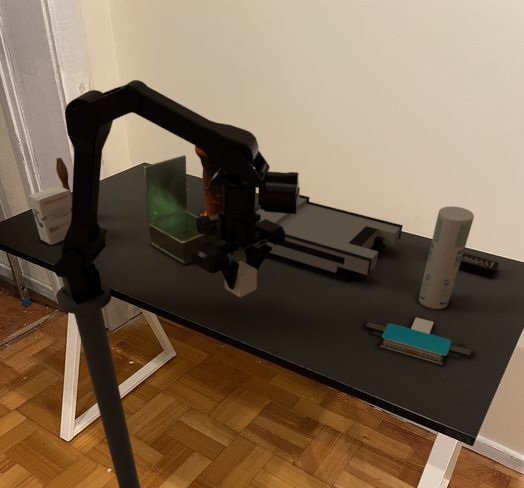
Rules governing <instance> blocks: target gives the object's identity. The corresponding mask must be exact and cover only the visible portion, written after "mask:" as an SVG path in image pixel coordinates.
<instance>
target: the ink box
mask: <svg viewBox="0 0 524 488" xmlns="http://www.w3.org/2000/svg"><path fill="white" fill-rule="evenodd" d="M70 191H71V189H70V190H68V189H65V188H63V186H61V185H57V186H54V187H50V188H47V189H44V190H41V191H37V192H35V193H31V194H29V195H28V199H29V203H30V207H31V209H32V210H31V211H32V213H33V217H34V221H35V224H36V228H37V231H38V234H39V239H40V240H41V241H43V242H45V243H46V244H48V245H50V246H53V245H56V244H58V243H60V242H63V241H64V237H65V235H66V233H67V231H68V228H69V226H70V223H71V214H72V198H71V194H72V192H71V193H70Z"/></svg>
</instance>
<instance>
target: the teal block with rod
mask: <svg viewBox="0 0 524 488" xmlns="http://www.w3.org/2000/svg"><path fill="white" fill-rule="evenodd" d="M434 323H435V321H432V320H427V319H424V318H420V317H415V318H414V321H413V323H412V326H411V328H409V327H405V326H402V325H398V324H395V323H390V322H389V323H387V326H385V325H381V324H376V323H374V322H369V321H368V322H367V324H366V325H365V326H366V327H365V329H366V330H371V331H372V333H371V334H372V335H375V336H379V337H381V338H382V339H383V340H382V342H381V344H380V348H381V349H385V350H388V351H391V352H394V353H398V354H401V355H406V356H409V357H411V358H415V359H418V360H423V361H426V362H430V363H432V364H436V365H438V366H439V365H440V366H442V365H443V363H444V359H445V356H449V357H452V358H456V359H460V358H461V356H462V357H466V358H470V357H471V354H472V350H471V349H467V348H465V347H462V346H457V345H453V344H452V340H451V339H449V338H445V337H442V336H438V335H435V334H431V331H432V330H433V329H432V328H433V327H434Z"/></svg>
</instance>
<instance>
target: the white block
mask: <svg viewBox="0 0 524 488" xmlns="http://www.w3.org/2000/svg"><path fill="white" fill-rule="evenodd" d="M237 263H239V268H238V274H237V279H236V284H235V287H234V289H233V290H232V289H230V288H229V287H228V285H227V282H226V280H225V278H224V277H223V278H224V279H223V280H224V289H225V290H227V291H229V292H230V293H232V294H233V295H235V296H237V297H238V298H242V297H244V296H246V295H249V294H250V293H252V292H254V291H256V290H257V289H258V271H257V269H256V268H254V267H252V266H250V265H248V264H246V262H244V261H243V260H240V261H238V262H237Z"/></svg>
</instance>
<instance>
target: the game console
mask: <svg viewBox="0 0 524 488" xmlns="http://www.w3.org/2000/svg"><path fill="white" fill-rule="evenodd" d="M256 213H258V214H260V215H261V220H260V221H263V220H265V219H267V220H269V221H271V222H273V223H275V224H278V225H280V226H282V227H283V229H284V231H285V241H284V242H282V243H280V244H278V245H274V244H272V243H271V237H268V238H267V241H266V242H267V245H269V246H271V247H272V251H270V252H269V253H268V255H267V256H266V258H269V259H272V260H275V261H278V262H282V263H285V264H288V265H292V266H295V267H298V268H301V269H304V270H307V271H310V272H314V273H316V274H320V275H324V276H326V277H329V278H332V279H336V280H340V281H343V282H347V281H348V280H349V279H350V277H353V278H358V277H359V276H361V274H362V275H365V276H368V275H369V274H370V273H371V272H372V270H373V269H374V268H375V267H376V266H377V261H378V255H379V254H380V253H381V252H382V251H383V250H384V249H385V247H386V246H390V247H394V246H395V245H396V243H397V242H398V241H399V240H400V239H401V236H402V231H403V224H399V223H396V222H392V221H388V220H383V219H379V218H376V217H372V216H368V215H364V214H359V213H356V212H352V211H347V210H344V209H340V208H336V207H332V206H328V205H325V204H320V203H317V202H312V201H310V196H307V195H303V194H299V204H298V211H297V214H287V213H275V212H265V211H264V210H261V208H259V209H258V210H256ZM260 221H257V222H256V223H258V222H260Z"/></svg>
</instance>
